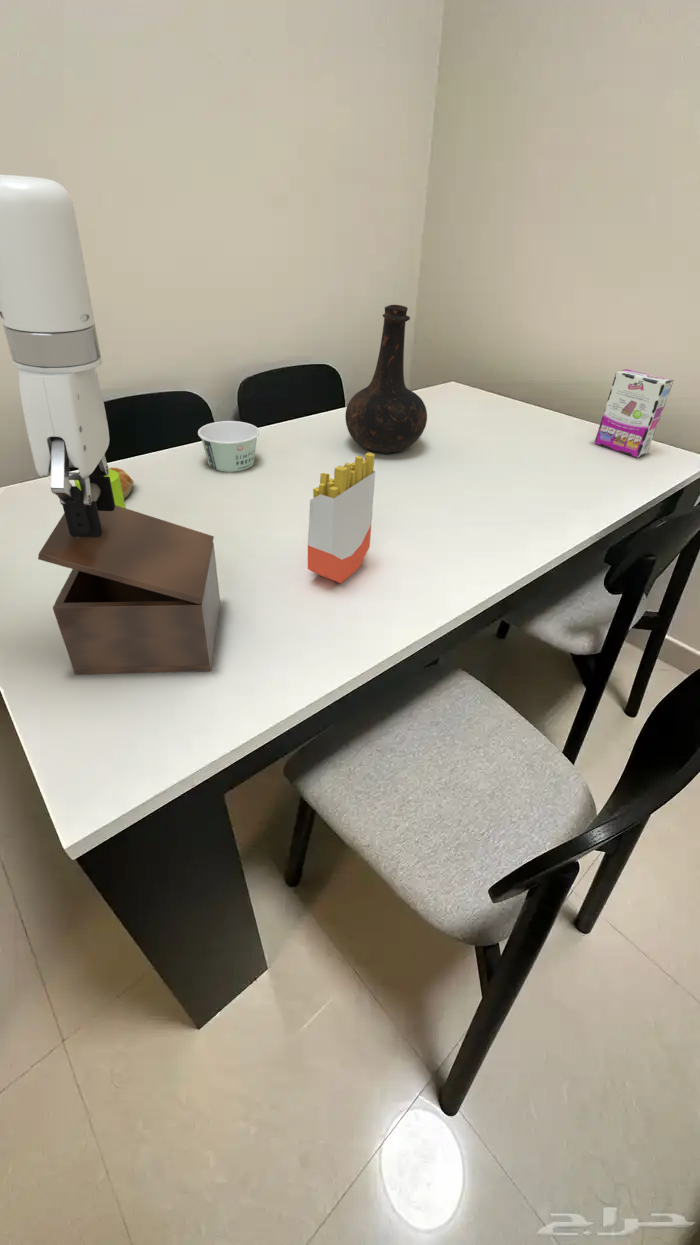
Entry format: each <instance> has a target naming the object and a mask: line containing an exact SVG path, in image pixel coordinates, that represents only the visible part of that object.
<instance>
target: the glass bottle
mask: <svg viewBox="0 0 700 1245" xmlns="http://www.w3.org/2000/svg"><path fill="white" fill-rule="evenodd" d="M407 312H408V307H407V306H405V305H401V304H389V305H386V306H384V313H383V314H382V318H383V326H382V335H381V339H380V347H379V352H378V357H377V361H376V365H375V370H374V373H373V376H372V379H371V380H370V382H369V385H368V386H366V387H364V388H362V389H361V390H359V391H357V392H356V393H355V394H354V395H353V396H351V398H350V399H349V401H348V403H347V405H346V408H345V425H346V428H347V431H348V433H349V436H351V438H352V439H353V441H354V442H355V443H356V444H357V445H358V446H360V447H361V448H363V449H365V450H368V451H369V452H376V453H383V454H384V453H385V454H386V453H388V454H391V453H398V452H402V451H404V450H406V449H408V448H409V447H411V446H412V445H413V444H415V443H417V441H418V440H419V439H420V438H421V437H422V434H423V433H424V431H425V428H426V425H427V422H428V412H427V407H426V405H425V403H424V401H423V399H422V398H421V396H419V395H418V394H417V393H416V392H414V391H413V390H411V389H408V388H407V386H406V383H405V374H404V373H405V372H404V370H405V369H404V368H405V366H404V364H405V363H404V359H405V357H404V356H405V355H404V354H405V336H406V335H405V334H406V322H409V320H410V319H411V317H410V316H409V315H407Z"/></svg>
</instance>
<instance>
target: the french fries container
mask: <svg viewBox="0 0 700 1245" xmlns="http://www.w3.org/2000/svg"><path fill="white" fill-rule="evenodd" d="M375 457H376V454H375V453H372V452H370V451H368V452H366V453H365V454H364V457H363V456H361V455H357V456H355V459H354V461H353V462H351V463H350V462H346V463H344V465H343V466H342V465H337V466H336V467H334V473H333V478H332V477H330V473H326V472H321V473H320V478H319V479H320V480H319V485H318V486H316V487H315V488H313V489H312V494H313V495H312V496H313V498H311V499H310V500H309V511H308V512H309V513H308V514H309V516H308V532H307V536H308V537H307V569H308V570H309V571H311V572H312V573H314V574H317V575H318V576H321V577H323V578H326V579H328V580H331V581H333V582H335V583H338V584H343V582H345V581H346V580H347V579H348V578H349V577H351V576H352V575H353V574H354V573H355V572H357V571H358V570H359V569H360V568H361V566H362V564H363V562H364V559H365V558H366V555H367V553H368V551H369V549H370V546H371V534H372V522H373V510H374V509H373V508H374V496H375V495H374V493H375V483H376V482H375V481H376V471H375V470H374V468H375V467H374V466H375Z"/></svg>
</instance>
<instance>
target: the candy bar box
mask: <svg viewBox="0 0 700 1245" xmlns="http://www.w3.org/2000/svg"><path fill="white" fill-rule="evenodd" d="M674 382H675V380H674V379H670V378H665V377H662V376H658V375H653V374H649V373H646V372H645V373H644V372H640V371H636V370H632V369H627V368H626V369H621V370H618V371H616V372H615V374H614V378H613V381H612V385H611V387H610V392H609V395H608V399H607V401H606V404H605V407H604V411H603V414H602V417H601V420H600V423H599V427H598V430H597V433H596V437H595V440H594V445H598V446H600V447H603V448H606V449H609V450H612V451H615V452H618V453H621V454H624V455H627V456H630V457H633V458H637V459H638V458H640V457H643V456H645V455H647V454H648V452H649V449H650V447H651V444H652V440H653V438H654V436H655V433H656V430H657V427H658V425H659V423H660V419H661V416H662V414H663V411H664V409H665V406H666V403H667V400H668V398H669V395H670V392H671V389H672V386H673V384H674Z"/></svg>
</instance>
